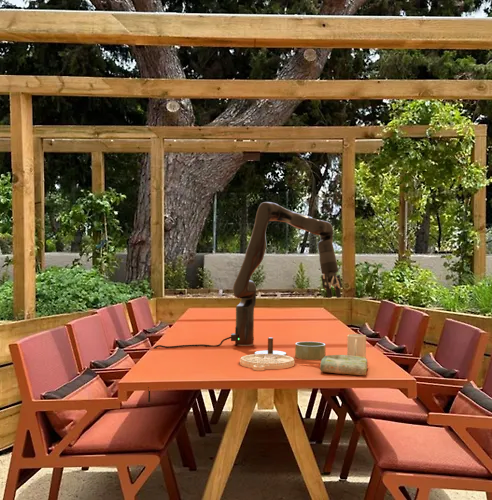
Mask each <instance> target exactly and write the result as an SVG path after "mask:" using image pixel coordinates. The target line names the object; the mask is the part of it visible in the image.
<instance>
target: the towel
mask: <svg viewBox="0 0 492 500" xmlns="http://www.w3.org/2000/svg"><path fill="white" fill-rule="evenodd" d="M319 370H320V372H322V373H328V374H329V373H330V374H339V375H341V374H342V375H350V376H351V375H352V376H366V375H367V371H368V358H367V357H366V358H365V357H361V356H349V355H347V354H328V355H325V356H324V358H323V359H322V360H321V359H320V365H319Z"/></svg>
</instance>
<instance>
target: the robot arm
mask: <svg viewBox="0 0 492 500" xmlns="http://www.w3.org/2000/svg"><path fill="white" fill-rule="evenodd" d="M269 222H281V223H286V224H287V225H290V226H291V227H294V228H296V229H299V230H301V231H305V232H308V233H311V234H313V235H315V236H319V237H320V238H319V239H320V240H319V241H318V243H317V250H318V257H319V258H318V259H319V265H320V270H321V284H322V288H323V289H325V290H326V291H325V292H326V295H327V298H329V299H330V298H333V291H332V287H333V288H334V292H335V297H336V298H337V299H339V298H342V293H341V289H342V288H343V284H342V280H341V275H340V274H337V273H338V271H339V267H338V262H337V256H336V252H335V248H334V243H333V242H334V241H333V240H334V228H333V225H332V223H330V222H329V221H327V220H321V219H317V218H313V217H312V216H310V215H306V214H303V213H299V212H296V211H292V210H291V209H290V210H289V209H287V208H285V207H283V206H281V205H279V204H278V203H275V202H271V201H263V202H261V203H260V204H259V206H258V208H257V211H256V215H255V219H254V224H253V229H252V231H251V236H250V239H249V241H248V244H247V247H246V251H245V254H244V258H243V261H242V263H241V266H240V269H239V272H238V274H237V276H236V279H235V281H234V284H233V286H232V293H233V296H234V298H236V299H241V300H240V302H239V303H238V304H237V305H236V306H235V327H234V330H235V333H234V332H233V333H231V334H230V336H228V337H225V338H223V339H222V340H221V342H220V343H219V344H216V345H213V344H212V345H211V344H200V343H199V344H181V345H180V344H179V345H169V346H168V345H167V346H166V345H163V344H157V345H155V346H154V347H153V349H157V348H165V349H176V348H183V347H184V348H185V347H188V348H189V347H209V348H211V347H213V348H216V347H221V346H222V345H223V343H224V341H227V340H230V341H231V342H234V347H253V346H254V345H255V343H254V341H255V335H254V334H255V307H256V303H257V302H256V301H257V286H256V284H255V282H254V281H253V280H251V278H252V276H253V274H254V273H255V271H256V269H257V268H258V267H259V266H260V265H261V263H262V261H263V260H264V258H265V255H266V251H267V237H266V235H267V234H266V232H267V228H268V224H269ZM147 400H148V401H147V402H148V403H150V402H151V390H150V391H149V390H148V399H147Z"/></svg>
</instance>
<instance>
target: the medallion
mask: <svg viewBox="0 0 492 500" xmlns="http://www.w3.org/2000/svg"><path fill="white" fill-rule="evenodd" d="M295 364H296V363H295V357H292V356H290V355H278V354H254V353H253V354H246V355H242V356H241V357H239V365H240V366H242V367H244V368H249V369H252V371H258V372H261V371H265V370H282V369H288V368H292V367H295Z"/></svg>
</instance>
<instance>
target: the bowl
mask: <svg viewBox="0 0 492 500" xmlns="http://www.w3.org/2000/svg"><path fill="white" fill-rule="evenodd" d="M326 350H327V349H326V343H324V342H321V341H297V342H295V343H294V358H296V359H299V360H309V361H315V360H316V361H318V360H320V361H321V360H322V359H323V358H324V356H327V355H326V352H327V351H326Z"/></svg>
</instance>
